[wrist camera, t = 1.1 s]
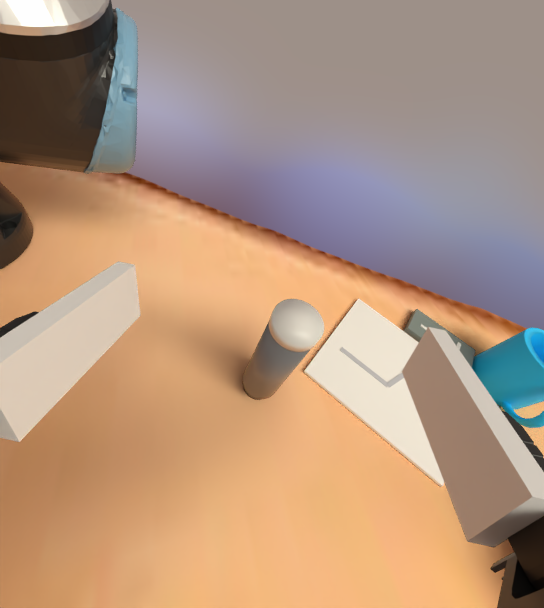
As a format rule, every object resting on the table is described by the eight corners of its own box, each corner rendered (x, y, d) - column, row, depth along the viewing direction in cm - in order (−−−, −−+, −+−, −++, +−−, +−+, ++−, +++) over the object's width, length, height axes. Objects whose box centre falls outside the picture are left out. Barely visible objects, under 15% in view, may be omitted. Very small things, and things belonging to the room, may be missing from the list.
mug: (467, 346, 43) (518, 317, 36) (516, 370, 42) (575, 345, 36) (476, 419, 35) (541, 398, 29) (535, 449, 35) (614, 435, 28)
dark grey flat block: (403, 331, 41) (408, 327, 40) (412, 312, 44) (417, 308, 43) (464, 376, 39) (471, 372, 38) (469, 353, 42) (475, 349, 41)
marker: (231, 386, 29) (261, 319, 19) (255, 361, 31) (292, 290, 21) (260, 412, 28) (306, 356, 18) (281, 384, 30) (333, 322, 20)
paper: (303, 372, 32) (304, 370, 32) (357, 299, 42) (358, 297, 41) (440, 486, 28) (443, 486, 28) (464, 378, 38) (467, 377, 38)
